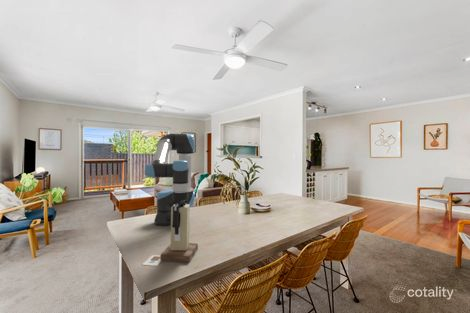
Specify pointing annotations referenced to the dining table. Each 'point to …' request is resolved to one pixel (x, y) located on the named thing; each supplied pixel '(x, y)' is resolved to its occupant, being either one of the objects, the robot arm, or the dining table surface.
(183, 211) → the toy refrigerator
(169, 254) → the walnut plinth
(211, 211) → the dining table surface
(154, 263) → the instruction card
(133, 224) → the dining table surface
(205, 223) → the dining table surface
